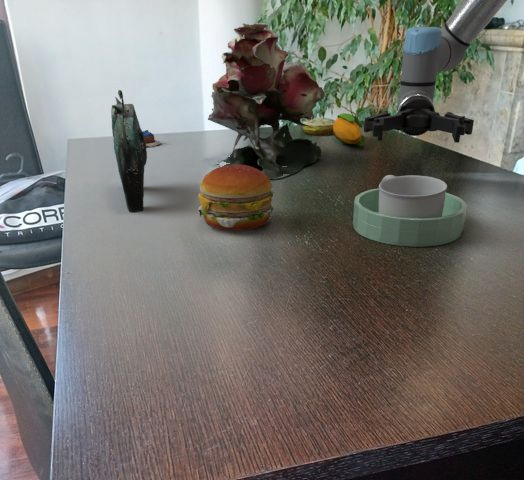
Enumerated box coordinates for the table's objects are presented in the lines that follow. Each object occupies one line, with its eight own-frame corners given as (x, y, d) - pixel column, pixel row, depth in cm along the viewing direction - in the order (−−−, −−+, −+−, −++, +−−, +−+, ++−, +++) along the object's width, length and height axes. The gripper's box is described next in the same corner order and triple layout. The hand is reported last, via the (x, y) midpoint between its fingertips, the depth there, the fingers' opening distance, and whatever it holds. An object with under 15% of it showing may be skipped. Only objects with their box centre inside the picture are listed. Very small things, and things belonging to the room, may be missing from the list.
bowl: (457, 213, 106) (461, 189, 103) (467, 250, 90) (472, 222, 88) (356, 208, 109) (358, 184, 107) (349, 242, 94) (350, 216, 91)
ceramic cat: (120, 185, 124) (106, 85, 114) (150, 183, 125) (139, 84, 115) (120, 214, 107) (103, 99, 97) (154, 211, 109) (141, 97, 98)
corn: (354, 108, 162) (373, 120, 145) (354, 136, 166) (373, 151, 149) (328, 110, 162) (345, 123, 145) (329, 138, 166) (345, 154, 149)
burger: (266, 238, 96) (266, 178, 91) (189, 233, 98) (184, 175, 93) (279, 213, 107) (279, 158, 102) (209, 209, 109) (206, 155, 104)
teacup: (451, 239, 93) (459, 190, 89) (387, 244, 91) (393, 194, 87) (417, 212, 105) (423, 168, 101) (360, 216, 103) (364, 171, 99)
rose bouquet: (331, 154, 147) (337, 20, 131) (281, 182, 125) (282, 25, 109) (244, 145, 157) (240, 20, 141) (184, 170, 135) (172, 24, 119)
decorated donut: (343, 131, 173) (344, 118, 171) (325, 137, 165) (326, 123, 163) (314, 127, 178) (315, 115, 176) (295, 133, 171) (296, 120, 169)
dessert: (125, 143, 157) (131, 123, 157) (136, 153, 164) (141, 134, 164) (151, 147, 155) (156, 127, 155) (161, 157, 162) (166, 137, 162)
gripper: (474, 134, 120) (487, 157, 102) (355, 131, 124) (347, 153, 107) (481, 95, 116) (495, 112, 98) (357, 94, 120) (350, 110, 103)
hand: (418, 133), depth 102 cm, fingers open, 13 cm apart
